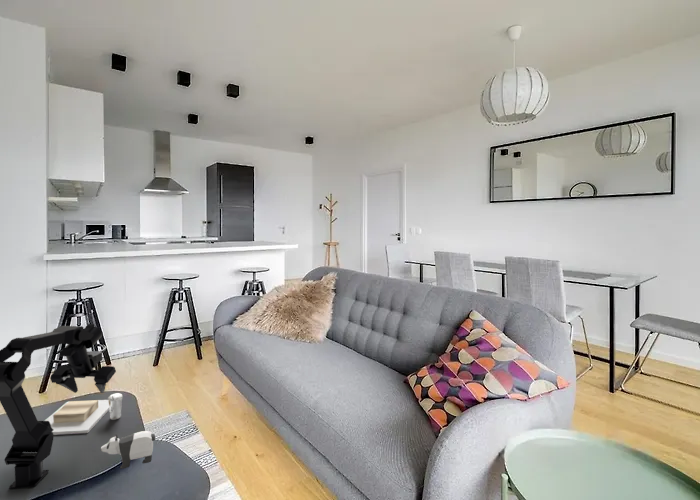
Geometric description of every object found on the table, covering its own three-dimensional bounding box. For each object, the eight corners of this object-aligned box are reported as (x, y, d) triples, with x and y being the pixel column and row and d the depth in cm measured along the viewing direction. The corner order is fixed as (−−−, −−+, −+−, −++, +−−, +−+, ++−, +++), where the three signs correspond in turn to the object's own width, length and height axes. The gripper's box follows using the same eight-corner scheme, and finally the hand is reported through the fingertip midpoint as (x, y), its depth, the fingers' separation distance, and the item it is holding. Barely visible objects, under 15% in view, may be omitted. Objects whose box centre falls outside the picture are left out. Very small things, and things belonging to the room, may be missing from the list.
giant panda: (155, 451, 119) (155, 423, 118) (155, 462, 114) (155, 433, 113) (102, 463, 113) (101, 434, 112) (99, 474, 108) (98, 444, 107)
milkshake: (105, 422, 134) (105, 396, 133) (110, 415, 139) (110, 390, 139) (119, 421, 135) (119, 395, 135) (124, 413, 141) (124, 389, 140)
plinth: (84, 421, 133) (84, 413, 133) (53, 423, 131) (53, 415, 131) (98, 407, 143) (98, 400, 142) (69, 408, 141) (69, 401, 141)
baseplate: (87, 432, 128) (87, 430, 128) (29, 436, 125) (29, 433, 124) (116, 401, 149) (116, 399, 149) (67, 403, 146) (67, 401, 146)
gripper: (119, 343, 131) (128, 375, 137) (65, 341, 130) (77, 375, 136) (101, 364, 121) (111, 399, 127) (42, 363, 120) (56, 398, 126)
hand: (89, 392), depth 130 cm, fingers open, 9 cm apart
